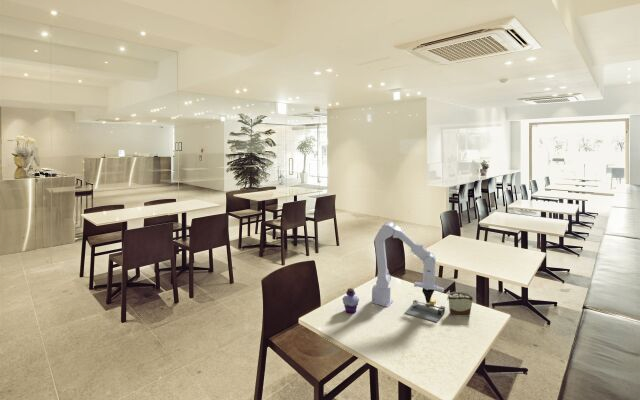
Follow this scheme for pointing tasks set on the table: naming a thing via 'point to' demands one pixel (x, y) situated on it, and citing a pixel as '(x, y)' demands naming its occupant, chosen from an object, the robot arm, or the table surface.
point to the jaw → (427, 308)
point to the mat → (422, 314)
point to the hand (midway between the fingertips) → (428, 302)
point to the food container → (460, 303)
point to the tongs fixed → (433, 306)
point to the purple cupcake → (350, 301)
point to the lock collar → (432, 302)
